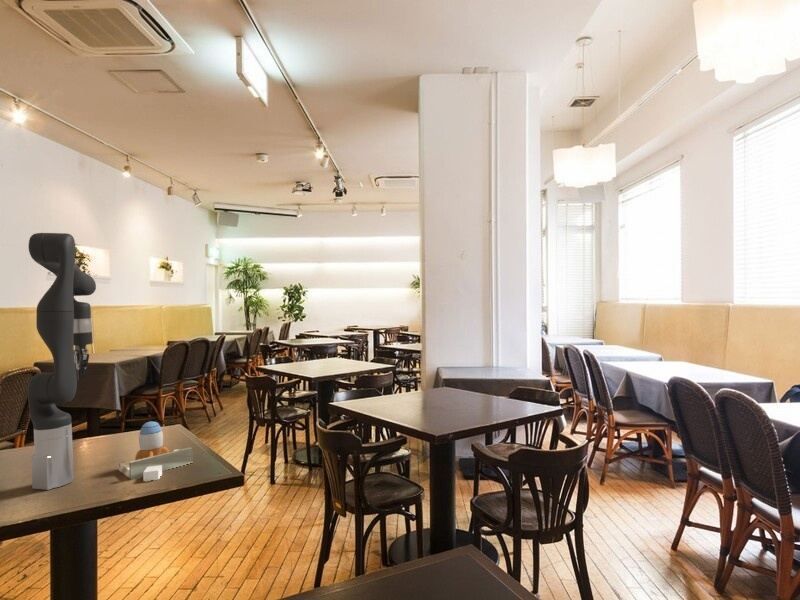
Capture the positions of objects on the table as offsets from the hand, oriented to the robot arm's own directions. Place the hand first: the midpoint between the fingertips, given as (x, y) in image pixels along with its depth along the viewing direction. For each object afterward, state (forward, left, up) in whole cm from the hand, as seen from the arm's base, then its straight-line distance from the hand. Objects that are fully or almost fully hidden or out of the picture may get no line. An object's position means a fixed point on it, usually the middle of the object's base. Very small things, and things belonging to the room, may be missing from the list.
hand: (81, 379), depth 174 cm
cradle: (-8, -38, -27) cm, 47 cm away
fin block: (-17, -45, -27) cm, 55 cm away
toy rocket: (-6, -34, -27) cm, 44 cm away
